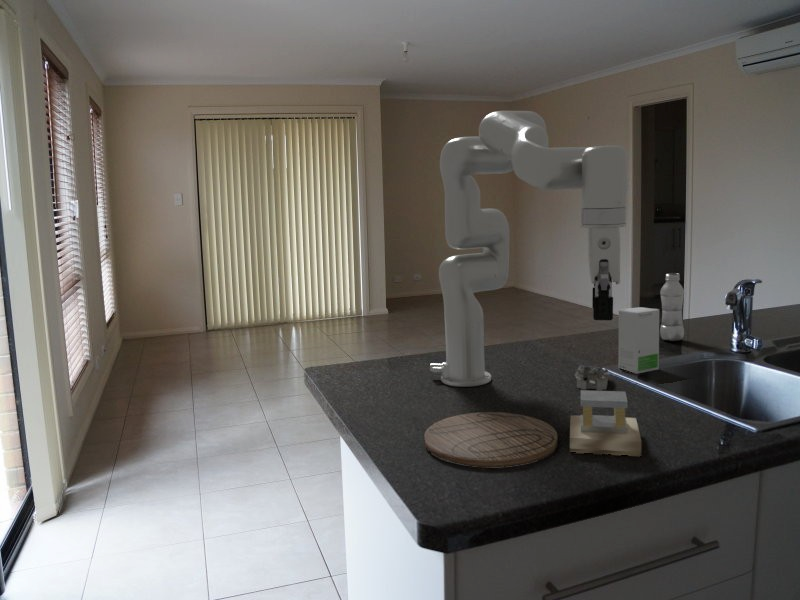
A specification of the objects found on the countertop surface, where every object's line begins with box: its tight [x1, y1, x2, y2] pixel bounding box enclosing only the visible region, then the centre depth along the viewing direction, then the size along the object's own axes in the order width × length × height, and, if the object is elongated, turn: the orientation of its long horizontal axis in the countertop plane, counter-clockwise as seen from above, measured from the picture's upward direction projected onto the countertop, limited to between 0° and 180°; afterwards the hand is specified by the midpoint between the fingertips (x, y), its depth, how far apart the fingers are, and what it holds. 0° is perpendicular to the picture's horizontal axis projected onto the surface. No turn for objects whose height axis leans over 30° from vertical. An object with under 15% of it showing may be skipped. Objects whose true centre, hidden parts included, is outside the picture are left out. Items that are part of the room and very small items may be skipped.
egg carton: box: [574, 364, 610, 391], centre depth 159 cm, size 11×8×4 cm
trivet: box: [423, 411, 558, 467], centre depth 126 cm, size 25×25×2 cm
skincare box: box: [617, 306, 660, 375], centre depth 168 cm, size 8×7×16 cm
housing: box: [580, 389, 628, 434], centre depth 121 cm, size 6×8×6 cm
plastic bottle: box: [659, 272, 685, 342], centre depth 196 cm, size 6×7×20 cm
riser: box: [569, 414, 642, 457], centre depth 122 cm, size 12×12×3 cm
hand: (602, 314), depth 119 cm, fingers open, 9 cm apart
